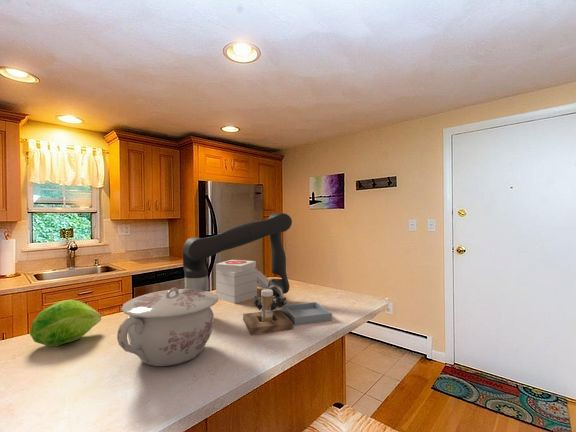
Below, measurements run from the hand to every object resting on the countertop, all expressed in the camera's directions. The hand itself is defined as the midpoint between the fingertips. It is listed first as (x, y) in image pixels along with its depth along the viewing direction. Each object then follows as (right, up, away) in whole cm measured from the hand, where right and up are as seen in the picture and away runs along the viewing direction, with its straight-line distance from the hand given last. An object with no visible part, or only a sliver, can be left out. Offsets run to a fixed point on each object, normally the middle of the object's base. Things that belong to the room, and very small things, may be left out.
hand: (265, 307), depth 114 cm
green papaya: (-66, -8, -12) cm, 68 cm away
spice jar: (0, -8, +3) cm, 8 cm away
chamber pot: (-27, -8, -22) cm, 36 cm away
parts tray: (+16, -7, +12) cm, 22 cm away
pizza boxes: (-15, -7, +44) cm, 47 cm away
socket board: (0, -7, +3) cm, 8 cm away
